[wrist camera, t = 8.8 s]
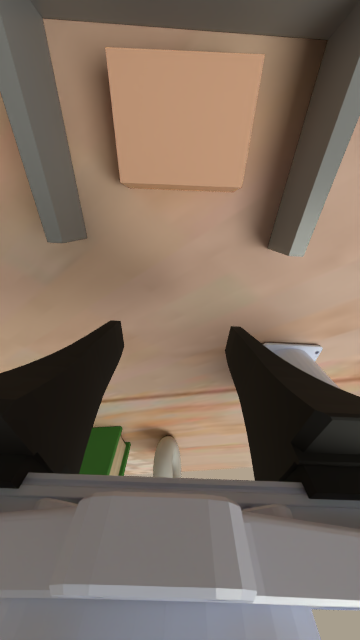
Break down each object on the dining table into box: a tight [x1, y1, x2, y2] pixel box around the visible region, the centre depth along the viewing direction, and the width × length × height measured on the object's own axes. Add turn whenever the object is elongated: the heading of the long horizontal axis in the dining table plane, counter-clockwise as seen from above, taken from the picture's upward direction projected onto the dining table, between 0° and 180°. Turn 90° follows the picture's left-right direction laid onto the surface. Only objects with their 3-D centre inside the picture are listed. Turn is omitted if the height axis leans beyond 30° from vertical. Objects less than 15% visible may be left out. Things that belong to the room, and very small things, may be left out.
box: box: [0, 0, 360, 257], centre depth 12 cm, size 14×20×4 cm, turn 87°
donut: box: [153, 436, 181, 478], centre depth 33 cm, size 10×4×10 cm, turn 14°
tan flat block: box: [105, 47, 265, 192], centre depth 12 cm, size 6×9×3 cm, turn 88°
